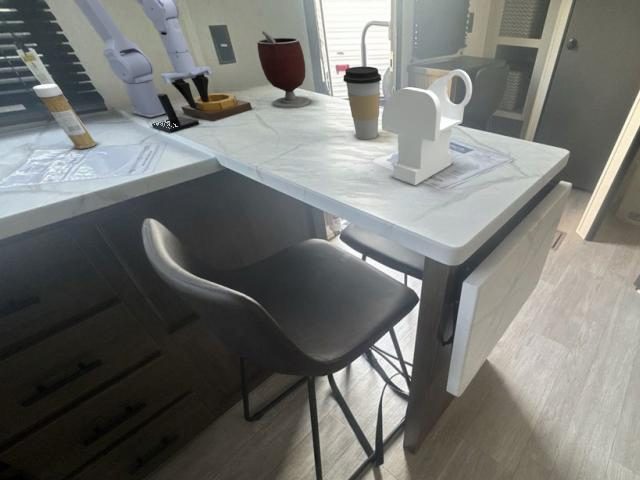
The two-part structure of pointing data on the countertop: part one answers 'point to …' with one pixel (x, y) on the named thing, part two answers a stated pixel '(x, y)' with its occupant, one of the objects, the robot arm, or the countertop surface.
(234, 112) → the coaster
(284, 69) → the mate gourd
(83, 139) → the sprinkles bottle
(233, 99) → the orange ring
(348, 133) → the countertop surface
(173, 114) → the peg stand
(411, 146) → the tape dispenser
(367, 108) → the coffee cup
